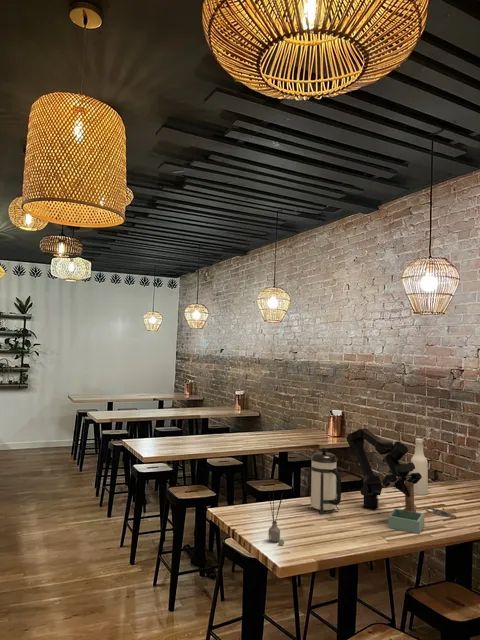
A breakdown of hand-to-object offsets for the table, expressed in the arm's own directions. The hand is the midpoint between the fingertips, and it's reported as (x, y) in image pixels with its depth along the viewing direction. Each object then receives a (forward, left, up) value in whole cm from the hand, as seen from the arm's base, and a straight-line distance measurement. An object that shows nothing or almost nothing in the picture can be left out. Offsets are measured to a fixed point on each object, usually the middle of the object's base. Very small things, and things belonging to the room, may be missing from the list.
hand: (410, 496), depth 215 cm
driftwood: (+6, +30, -14) cm, 34 cm away
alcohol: (-7, +60, -14) cm, 62 cm away
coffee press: (-40, 0, -14) cm, 42 cm away
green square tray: (-2, 0, -13) cm, 14 cm away
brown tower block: (0, 0, -7) cm, 7 cm away
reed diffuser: (-43, -48, -14) cm, 66 cm away
